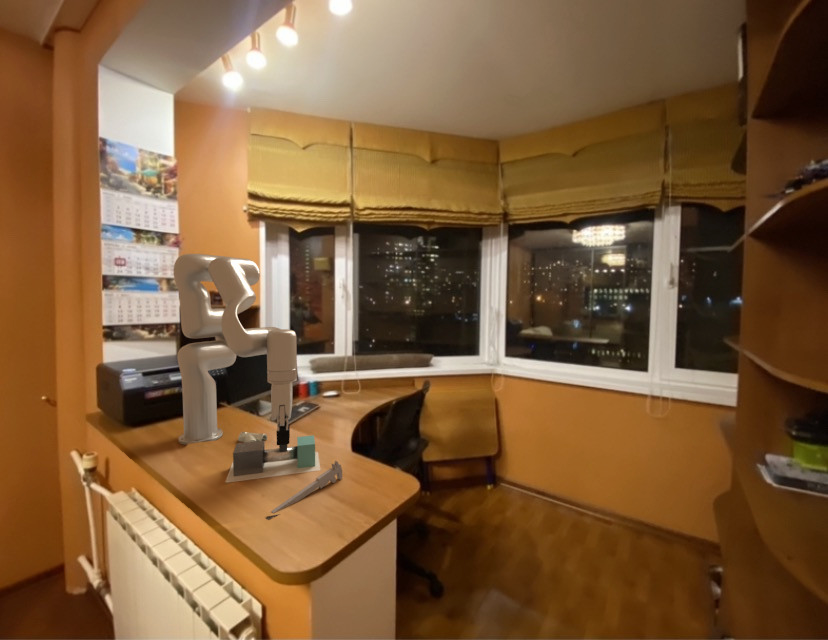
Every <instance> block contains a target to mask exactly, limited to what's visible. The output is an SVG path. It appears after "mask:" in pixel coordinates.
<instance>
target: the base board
mask: <svg viewBox="0 0 828 640" xmlns="http://www.w3.org/2000/svg"><path fill="white" fill-rule="evenodd" d="M318 471H321V464H320V456H319V452H318V451H315V466H312V467H304V468H298V459H294V460H286V461H278V462H270V463H265V464H264V470H263V473H257V474H249V475H242V476H234V473H233V462H232V463H231V466H230V469H229V471H228V474H227V477H226V479H225V483H234V482H243V481H250V480H257V479H258V480H259V479H265V478H273V477H281V476H288V475H295V474H302V473H303V474H304V473H311V472H318Z"/></svg>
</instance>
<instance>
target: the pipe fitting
mask: <svg viewBox="0 0 828 640" xmlns="http://www.w3.org/2000/svg"><path fill="white" fill-rule="evenodd" d="M237 440H238V443H245V442H254V441H267V440H268V434H267V433H258V432H256V433H255V432H247V431H241V432H240V433H239V435H238V439H237Z"/></svg>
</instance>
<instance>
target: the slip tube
mask: <svg viewBox="0 0 828 640" xmlns="http://www.w3.org/2000/svg"><path fill="white" fill-rule="evenodd" d="M278 446H279V447H277V448H269V449H265V450H263V463H270V462H278V461H286V460H294V459H298V455H297V445H296V446H288V444H286V445H278Z"/></svg>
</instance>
